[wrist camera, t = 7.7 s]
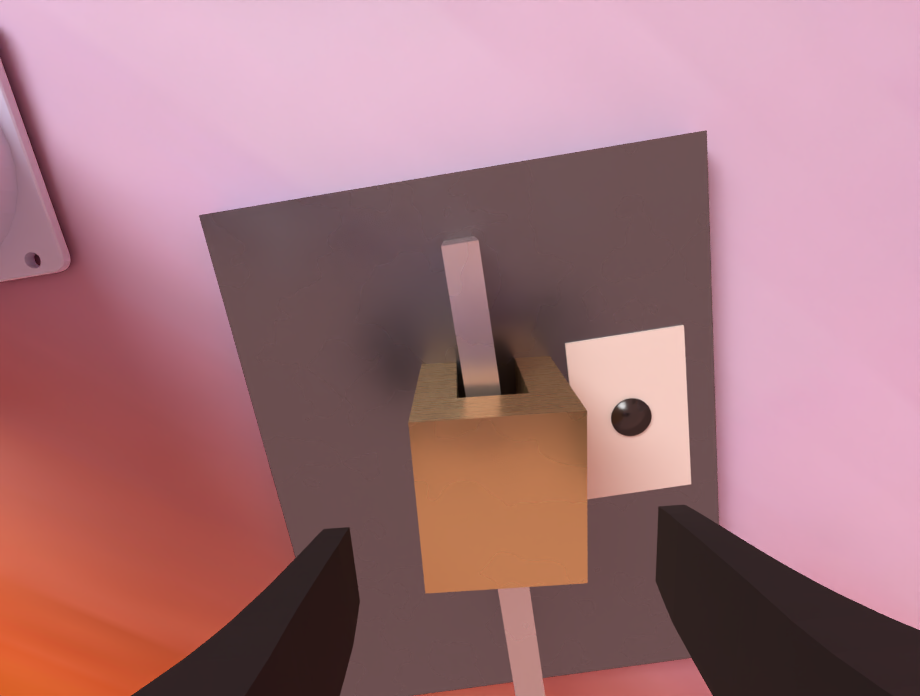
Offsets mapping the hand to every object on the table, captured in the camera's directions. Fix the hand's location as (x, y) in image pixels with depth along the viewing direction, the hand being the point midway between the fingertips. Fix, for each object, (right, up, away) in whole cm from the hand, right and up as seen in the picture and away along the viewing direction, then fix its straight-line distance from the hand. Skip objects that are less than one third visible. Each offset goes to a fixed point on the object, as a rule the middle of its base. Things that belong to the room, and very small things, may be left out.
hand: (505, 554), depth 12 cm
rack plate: (0, +1, +7) cm, 8 cm away
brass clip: (0, +2, +6) cm, 7 cm away
